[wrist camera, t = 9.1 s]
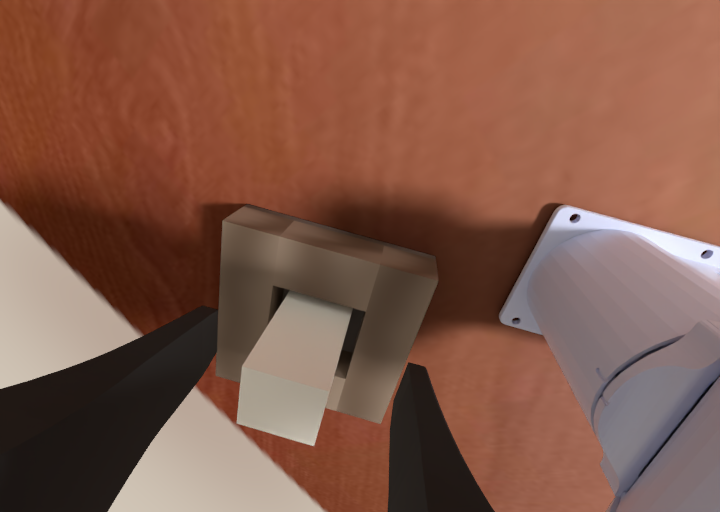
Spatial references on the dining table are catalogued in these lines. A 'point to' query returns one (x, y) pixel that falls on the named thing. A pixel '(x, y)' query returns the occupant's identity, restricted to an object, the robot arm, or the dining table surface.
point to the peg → (293, 368)
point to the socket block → (323, 298)
